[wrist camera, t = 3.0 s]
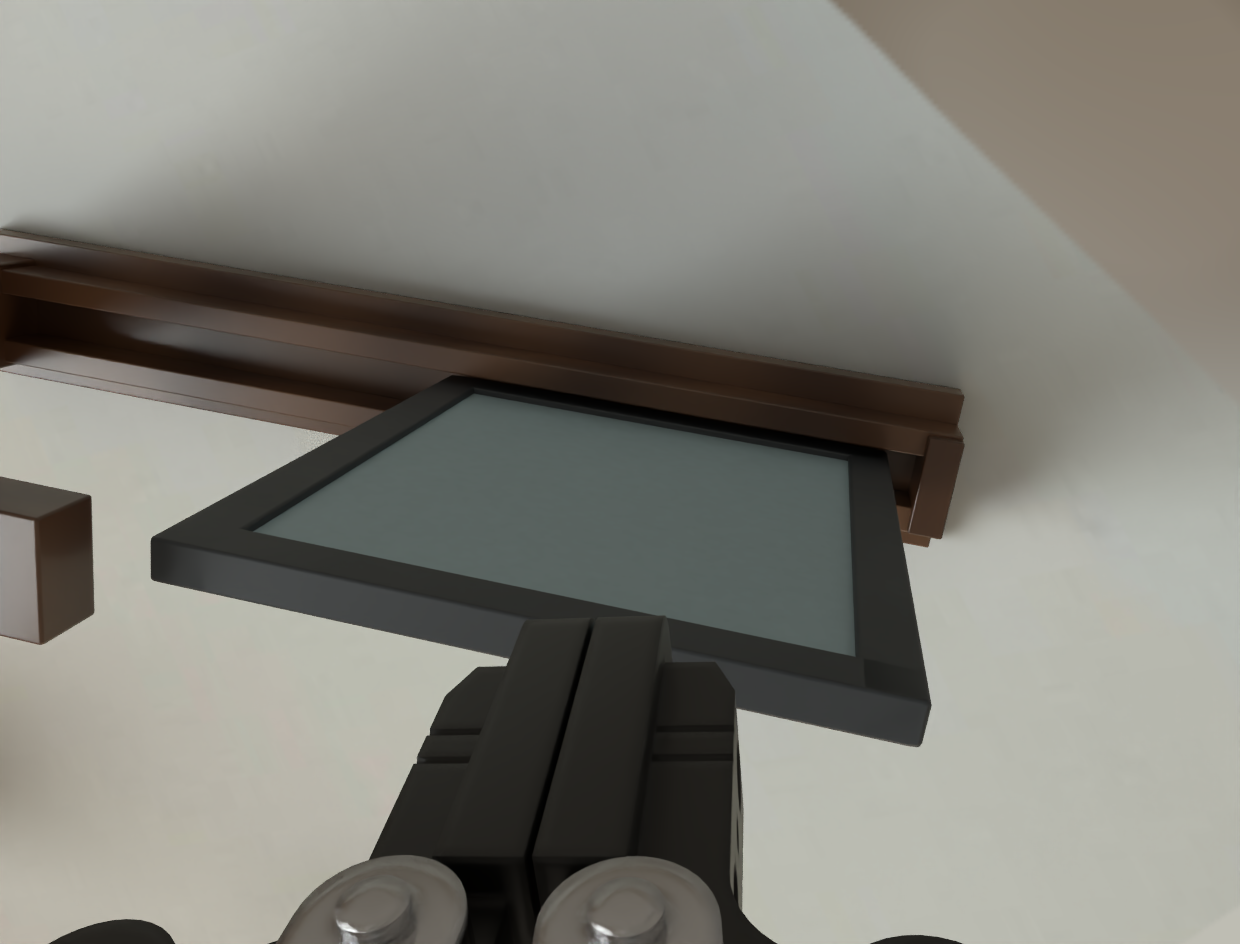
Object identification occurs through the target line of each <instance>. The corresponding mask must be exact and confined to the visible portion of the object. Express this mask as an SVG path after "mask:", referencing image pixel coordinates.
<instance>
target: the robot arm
mask: <svg viewBox="0 0 1240 944" xmlns="http://www.w3.org/2000/svg"><path fill="white" fill-rule="evenodd" d="M742 880H743V796H742V782H741V768H740V754H739V740H738V726H737V712H736V698H735V690H734V688H733V687H732V685H731V684H730V682H729V681H728V679H727V678H726V676H725V675H724V673H723V672H722V670H721V669H720V667H719V666H718V664H717V663H716V662H715V661H712V662H672V651H671V641H670V632H669V625H668V621H667V617H666V616H665V615H660V616H626V617H598V618H597V619H596V620H595V619H594V618H565V619H530V620H526V621H525V622H524V623H523V625H522V628H521V630H520V633H519V635H518V638H517V640H516V643H515V646H514V648H513V651H512V653H511V656H510V658H509V661H508V663H507V666H498V667H477V668H476V669H475V670H474V671H473V672H471V673H470V674H469V675H468V676H467V677H466V678H465V679H464V680H462V681H461V682H460V683H459V684H458V685H457V686H456V687H455V688H454V689H452V690H451V691H450V692H449V693H448V694H447V695H446V696H445V698H444V700H443V702H442V704H441V706H440V708H439V711H438V713H437V715H436V717H435V719H434V721H433V723H432V726H431V728H430V736H426V739H425V741H424V743H423V745H422V747H421V749H420V751H419V754H418V756H417V764H413V766H412V769H411V771H410V773H409V775H408V777H407V779H406V781H405V784H404V786H403V788H402V790H401V792H400V794H399V796H398V799H397V801H396V803H395V805H394V807H393V809H392V811H391V814H390V816H389V818H388V820H387V822H386V824H385V826H384V829H383V831H382V833H381V835H380V837H379V839H378V841H377V844H376V846H375V848H374V850H373V852H372V854H371V856H370V859H369V860H368V861H365V862H362V863H359V864H356V865H354V866H351V867H349V868H347V869H345V870H343V871H341V872H339V873H338V874H336V875H334V876H333V877H331V878H330V879H328V880H327V881H325V882H324V883H323V884H321V885H320V886H319V887H318V888H316V889H315V890H314V891H313V892H312V893H311V894H310V895H309V896H308V897H307V898H306V899H305V900H304V901H303V902H302V904H301V905H300V907H299V908H298V909H297V911H296V912H295V913H294V915H293V917H292V918H291V920H290V922H289V923H288V925H287V926H286V928H285V930H284V931H283V933H282V935H281V936H280V938H279V939H278V941H275V942H272V943H269V944H777V943H775V942H773V941H772V940H771V939H769V938H768V937H766V936H765V935H764V934H762V933H761V932H760V931H759V930H758V929H757V928H756V927H754V926H753V925H752V924H751V923H750V922H749V920H748V919H747V918H746V916H745V915H744V914H743V912H742ZM49 944H175V943H174V941H173V939H172V938H171V936H170V935H169V934H168V933H167V932H166V931H165V930H164V929H163V928H161V927H159V926H157V925H155V924H153V923H150V922H146V921H142V920H131V919H124V920H112V921H107V922H102V923H97V924H94V925H90V926H87V927H84V928H81V929H78V930H76V931H74V932H71V933H69V934H67V935H64V936H62V937H60V938H58V939H56V940H55V941H53V942H51V943H49ZM871 944H962V943H959V942H957V941H953V940H948V939H944V938H940V937H933V936H924V935H905V936H897V937H891V938H886V939H883V940H880V941H877V942H874V943H871Z"/></svg>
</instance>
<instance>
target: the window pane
mask: <svg viewBox="0 0 1240 944" xmlns="http://www.w3.org/2000/svg"><path fill="white" fill-rule="evenodd" d="M151 579H152V580H153V581H157V582H162V583H166V584H171V585H175V586H180V587H184V588H189V589H194V590H198V591H203V592H207V593H212V594H216V595H221V596H226V597H230V598H235V599H239V600H244V601H248V602H253V603H257V604H262V605H267V606H271V607H276V608H280V609H285V610H289V611H294V612H299V613H303V614H308V615H312V616H317V617H321V618H326V619H331V620H335V621H340V622H344V623H349V624H353V625H358V626H363V627H367V628H372V629H376V630H381V631H385V632H390V633H395V634H399V635H404V636H408V637H413V638H417V639H422V640H427V641H431V642H436V643H440V644H445V645H449V646H454V647H459V648H463V649H468V650H472V651H477V652H481V653H486V654H491V655H495V656H500V657H504V658H510V656H511V653H512V651H513V648H514V646H515V643H516V640H517V638H518V635H519V633H520V630H521V628H522V625H523V623H524V622H525V621H526V620H530V619H565V618H594V619H595V620H596V619H597V618H598V617H626V616H660V615H665V616H666V617H667V621H668V625H669V632H670V641H671V651H672V662H712V661H715V662H716V663H717V664H718V666H719V667H720V669H721V670H722V672H723V673H724V675H725V676H726V678H727V679H728V681H729V682H730V684H731V685H732V687H733V688H734V690H735V698H736V708H737V709H742V710H746V711H751V712H756V713H760V714H765V715H769V716H774V717H778V718H783V719H788V720H792V721H797V722H801V723H806V724H810V725H815V726H820V727H824V728H829V729H833V730H838V731H842V732H847V733H851V734H856V735H861V736H865V737H870V738H874V739H879V740H883V741H888V742H893V743H897V744H902V745H906V746H913V747H919V746H920V745H921V744H922V741H923V737H924V733H925V729H926V725H927V721H928V717H929V713H930V710H931V706H932V705H931V700H930V694H929V688H928V683H927V677H926V671H925V666H924V660H923V654H922V649H921V643H920V637H919V632H918V626H917V620H916V615H915V609H914V603H913V598H912V592H911V586H910V581H909V575H908V569H907V564H906V558H905V552H904V547H903V541H902V535H901V530H900V524H899V518H898V513H897V507H896V501H895V496H894V490H893V484H892V479H891V473H890V467H889V462H888V456H887V453H886V452H884V451H880V450H874V449H868V448H863V447H857V446H852V445H846V444H840V443H835V442H829V441H823V440H818V439H812V438H807V437H801V436H795V435H790V434H784V433H778V432H773V431H767V430H762V429H756V428H750V427H745V426H739V425H733V424H728V423H722V422H717V421H711V420H705V419H700V418H694V417H688V416H683V415H677V414H672V413H666V412H660V411H655V410H649V409H643V408H638V407H632V406H627V405H621V404H615V403H610V402H604V401H599V400H593V399H587V398H582V397H576V396H570V395H565V394H559V393H554V392H548V391H542V390H537V389H531V388H525V387H520V386H514V385H509V384H503V383H497V382H492V381H486V380H480V379H475V378H469V377H464V376H458V375H451V376H449V377H447V378H445V379H443V380H442V381H440V382H438V383H436V384H434V385H432V386H430V387H429V388H427V389H425V390H423V391H421V392H419V393H417V394H416V395H414V396H412V397H410V398H408V399H406V400H405V401H403V402H401V403H399V404H397V405H395V406H393V407H392V408H390V409H388V410H386V411H384V412H382V413H381V414H379V415H377V416H375V417H373V418H371V419H369V420H368V421H366V422H364V423H362V424H360V425H358V426H356V427H355V428H353V429H351V430H349V431H347V432H345V433H344V434H342V435H340V436H338V437H336V438H334V439H332V440H331V441H329V442H327V443H325V444H323V445H321V446H320V447H318V448H316V449H314V450H312V451H310V452H308V453H307V454H305V455H303V456H301V457H299V458H297V459H296V460H294V461H292V462H290V463H288V464H286V465H284V466H283V467H281V468H279V469H277V470H275V471H273V472H271V473H270V474H268V475H266V476H264V477H262V478H260V479H259V480H257V481H255V482H253V483H251V484H249V485H247V486H246V487H244V488H242V489H240V490H238V491H236V492H235V493H233V494H231V495H229V496H227V497H225V498H223V499H222V500H220V501H218V502H216V503H214V504H212V505H210V506H209V507H207V508H205V509H203V510H201V511H199V512H198V513H196V514H194V515H192V516H190V517H188V518H186V519H185V520H183V521H181V522H179V523H177V524H175V525H174V526H172V527H170V528H168V529H166V530H164V531H162V532H161V533H159V534H157V535H155V536H153V537H152V538H151Z"/></svg>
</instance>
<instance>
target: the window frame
mask: <svg viewBox="0 0 1240 944" xmlns="http://www.w3.org/2000/svg"><path fill="white" fill-rule="evenodd" d="M0 371H3V372H8V373H14V374H19V375H24V376H29V377H35V378H40V379H45V380H50V381H56V382H61V383H66V384H71V385H77V386H82V387H87V388H92V389H98V390H103V391H108V392H113V393H119V394H124V395H129V396H134V397H140V398H145V399H150V400H155V401H161V402H166V403H171V404H176V405H182V406H187V407H192V408H197V409H203V410H208V411H213V412H218V413H224V414H229V415H234V416H239V417H245V418H250V419H255V420H260V421H266V422H271V423H276V424H282V425H287V426H292V427H297V428H303V429H308V430H313V431H318V432H324V433H329V434H334V435H339V436H340V435H342V434H344V433H345V432H347V431H349V430H351V429H353V428H355V427H356V426H358V425H360V424H362V423H364V422H366V421H368V420H369V419H371V418H373V417H375V416H377V415H379V414H381V413H382V412H384V411H386V410H388V409H390V408H392V407H393V406H395V405H397V404H399V403H401V402H403V401H405V400H406V399H408V398H410V397H412V396H414V395H416V394H417V393H419V392H421V391H423V390H425V389H427V388H429V387H430V386H432V385H434V384H436V383H438V382H440V381H442V380H443V379H445V378H447V377H449V376H451V375H458V376H464V377H469V378H475V379H480V380H486V381H492V382H497V383H503V384H509V385H514V386H520V387H525V388H531V389H537V390H542V391H548V392H554V393H559V394H565V395H570V396H576V397H582V398H587V399H593V400H599V401H604V402H610V403H615V404H621V405H627V406H632V407H638V408H643V409H649V410H655V411H660V412H666V413H672V414H677V415H683V416H688V417H694V418H700V419H705V420H711V421H717V422H722V423H728V424H733V425H739V426H745V427H750V428H756V429H762V430H767V431H773V432H778V433H784V434H790V435H795V436H801V437H807V438H812V439H818V440H823V441H829V442H835V443H840V444H846V445H852V446H857V447H863V448H868V449H874V450H880V451H884V452H886V453H887V456H888V462H889V467H890V473H891V479H892V484H893V490H894V496H895V501H896V507H897V513H898V518H899V524H900V530H901V535H902V541H903V543H907V544H912V545H917V546H923V547H928V546H929V543H930V539H931V538H935V539H941V538H942V535H943V531H944V527H945V523H946V519H947V515H948V511H949V506H950V502H951V498H952V494H953V490H954V486H955V482H956V478H957V474H958V469H959V465H960V461H961V457H962V453H963V449H964V442H963V439H964V438H963V435H962V433H961V431H960V429H959V427H958V422H959V418H960V414H961V409H962V405H963V401H964V395H963V393H962V391H961V390H960V389H955V388H949V387H943V386H937V385H931V384H925V383H919V382H913V381H907V380H901V379H895V378H889V377H884V376H878V375H872V374H866V373H860V372H854V371H848V370H842V369H836V368H830V367H824V366H818V365H812V364H806V363H800V362H794V361H788V360H782V359H776V358H770V357H764V356H758V355H752V354H746V353H740V352H734V351H728V350H722V349H716V348H710V347H704V346H698V345H692V344H686V343H680V342H674V341H668V340H662V339H656V338H650V337H644V336H638V335H632V334H626V333H621V332H615V331H609V330H603V329H597V328H591V327H585V326H579V325H573V324H567V323H561V322H555V321H549V320H543V319H537V318H531V317H525V316H519V315H513V314H507V313H501V312H495V311H489V310H483V309H477V308H471V307H465V306H459V305H453V304H447V303H441V302H435V301H429V300H423V299H417V298H411V297H405V296H399V295H393V294H387V293H381V292H375V291H369V290H363V289H357V288H352V287H346V286H340V285H334V284H328V283H322V282H316V281H310V280H304V279H298V278H292V277H286V276H280V275H274V274H268V273H262V272H256V271H250V270H244V269H238V268H232V267H226V266H220V265H214V264H208V263H202V262H196V261H190V260H184V259H178V258H172V257H166V256H160V255H154V254H148V253H142V252H136V251H130V250H124V249H118V248H112V247H106V246H100V245H94V244H89V243H83V242H77V241H71V240H65V239H59V238H53V237H47V236H41V235H35V234H29V233H23V232H17V231H11V230H5V229H0ZM93 614H94V579H93V540H92V501H91V496H90V495H86V494H82V493H77V492H72V491H67V490H62V489H57V488H53V487H48V486H43V485H38V484H33V483H29V482H24V481H19V480H14V479H9V478H4V477H0V636H5V637H9V638H13V639H17V640H22V641H26V642H30V643H35V644H39V645H42V644H45V643H47V642H48V641H50V640H52V639H53V638H55V637H57V636H58V635H60V634H62V633H63V632H65V631H67V630H68V629H70V628H72V627H73V626H75V625H77V624H78V623H80V622H81V621H83V620H85V619H86V618H88V617H90V616H91V615H93Z"/></svg>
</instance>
